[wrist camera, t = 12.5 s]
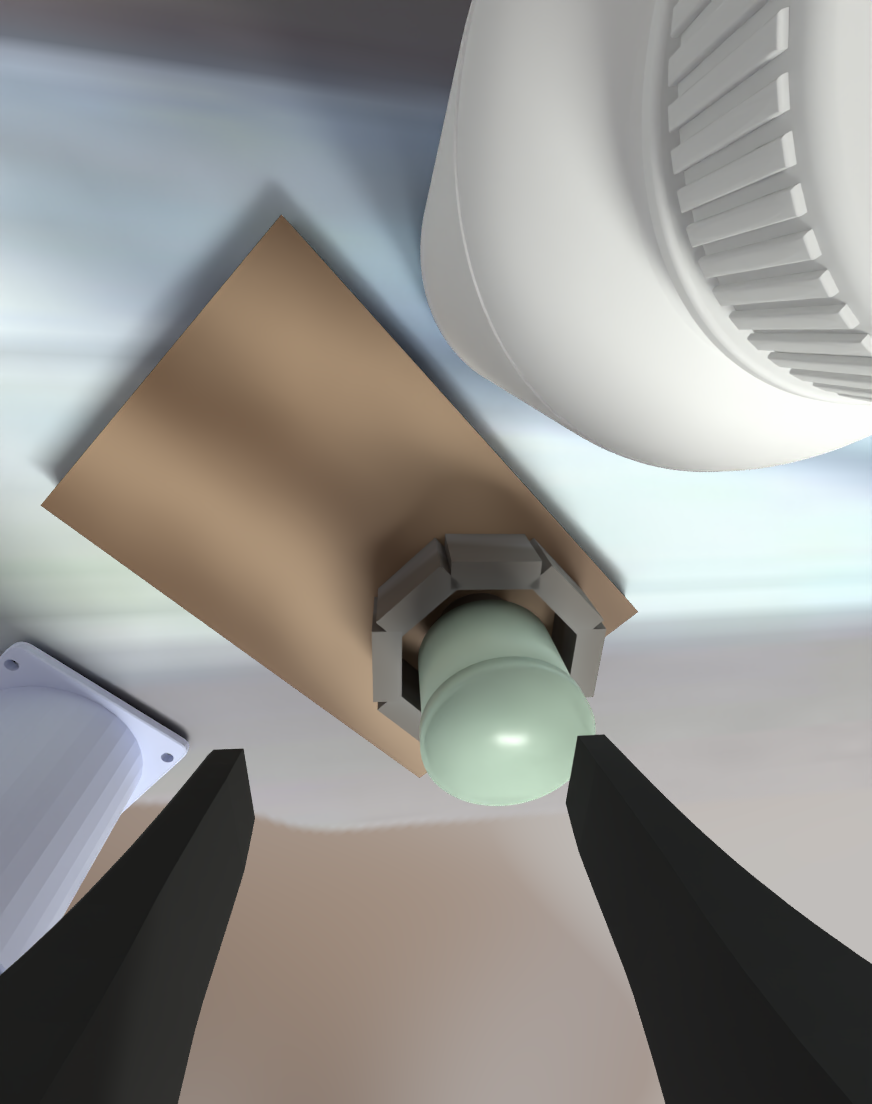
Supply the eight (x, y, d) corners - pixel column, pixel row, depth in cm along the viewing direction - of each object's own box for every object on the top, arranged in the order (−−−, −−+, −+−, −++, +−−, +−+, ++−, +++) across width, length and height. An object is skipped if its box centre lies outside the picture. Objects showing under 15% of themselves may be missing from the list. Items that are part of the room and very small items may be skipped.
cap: (578, 618, 18) (626, 693, 14) (521, 726, 19) (551, 818, 16) (443, 579, 17) (457, 650, 13) (396, 697, 18) (397, 788, 15)
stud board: (418, 757, 24) (422, 825, 21) (62, 494, 18) (-13, 531, 14) (625, 597, 21) (667, 646, 18) (289, 222, 15) (259, 192, 12)
